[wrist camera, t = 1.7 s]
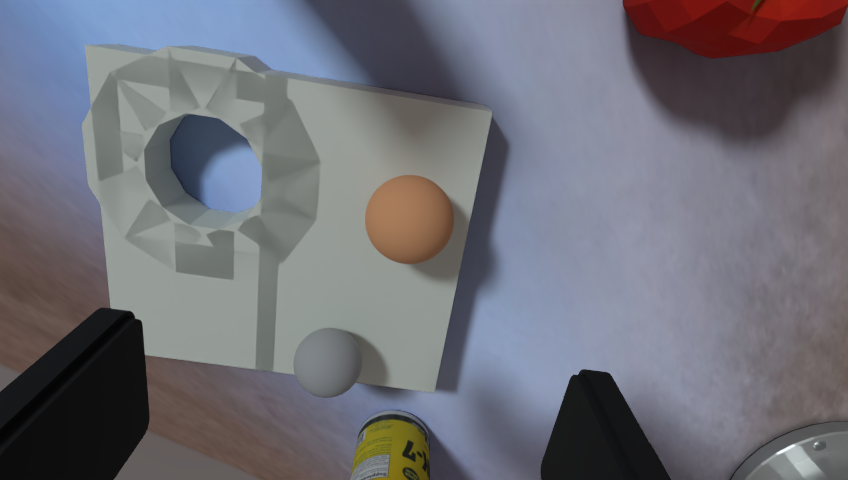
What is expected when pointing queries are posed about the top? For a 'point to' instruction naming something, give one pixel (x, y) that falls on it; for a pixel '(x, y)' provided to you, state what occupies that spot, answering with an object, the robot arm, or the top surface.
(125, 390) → the robot arm
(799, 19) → the tomato
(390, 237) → the ball
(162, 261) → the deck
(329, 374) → the grey ball
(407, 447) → the supplement bottle
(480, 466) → the top surface
